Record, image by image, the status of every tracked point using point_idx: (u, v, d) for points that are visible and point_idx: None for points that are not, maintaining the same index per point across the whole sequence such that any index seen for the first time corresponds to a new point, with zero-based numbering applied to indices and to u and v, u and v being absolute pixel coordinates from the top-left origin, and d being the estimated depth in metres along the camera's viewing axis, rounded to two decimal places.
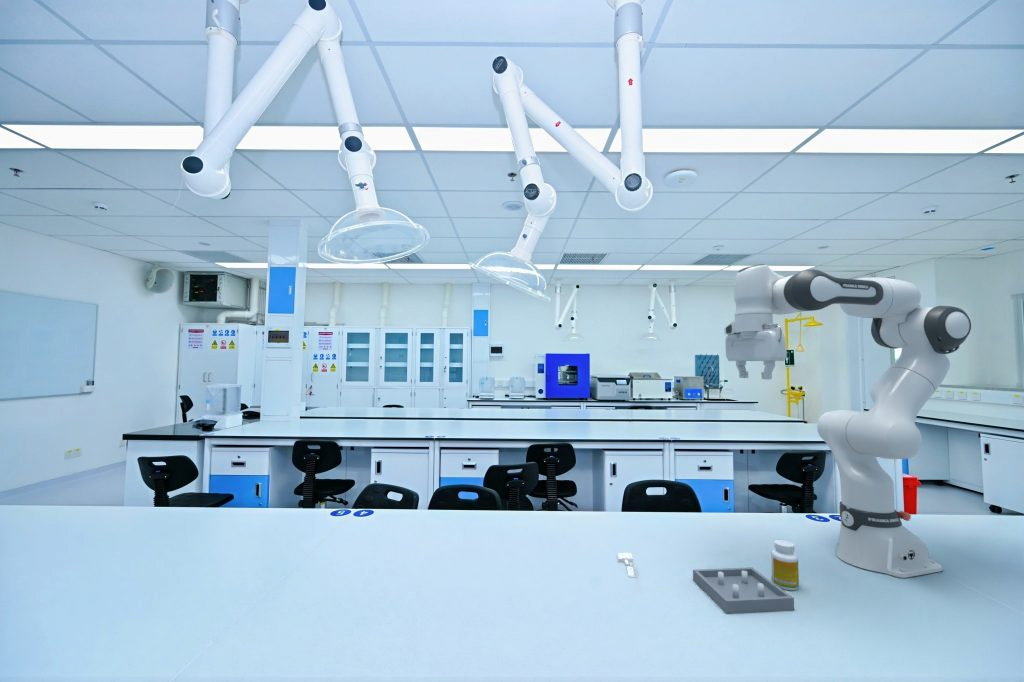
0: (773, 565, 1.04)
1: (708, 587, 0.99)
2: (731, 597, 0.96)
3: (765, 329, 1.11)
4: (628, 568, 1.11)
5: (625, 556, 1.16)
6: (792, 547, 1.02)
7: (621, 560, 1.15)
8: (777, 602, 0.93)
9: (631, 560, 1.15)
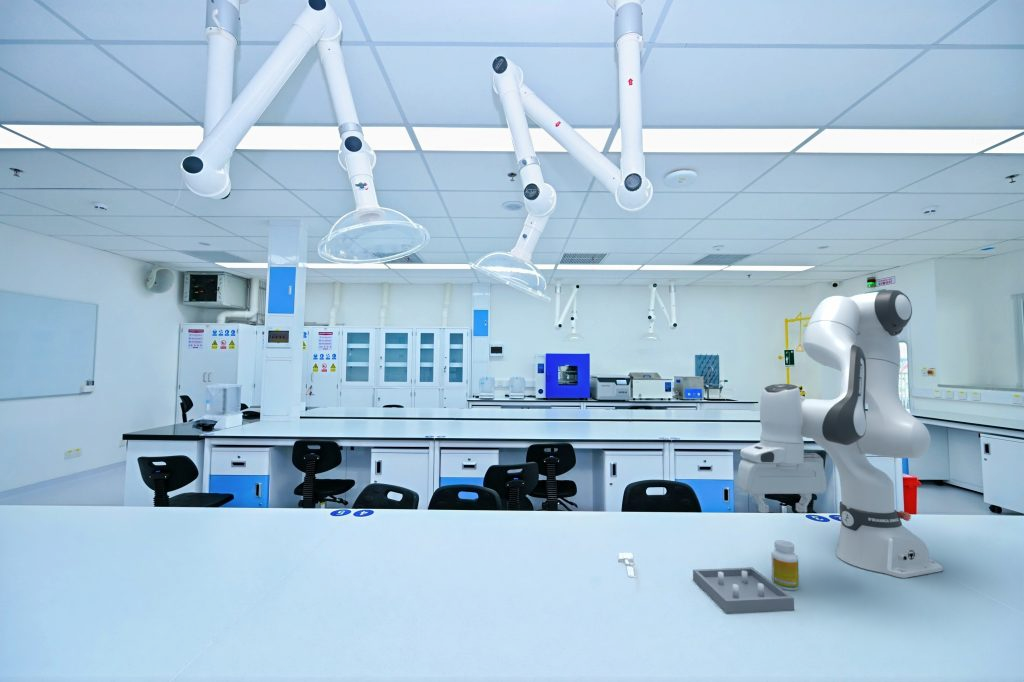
0: (773, 565, 1.04)
1: (708, 587, 0.99)
2: (731, 597, 0.96)
3: (803, 459, 1.05)
4: (628, 568, 1.11)
5: (625, 556, 1.16)
6: (792, 547, 1.02)
7: (621, 560, 1.15)
8: (777, 602, 0.93)
9: (631, 560, 1.15)
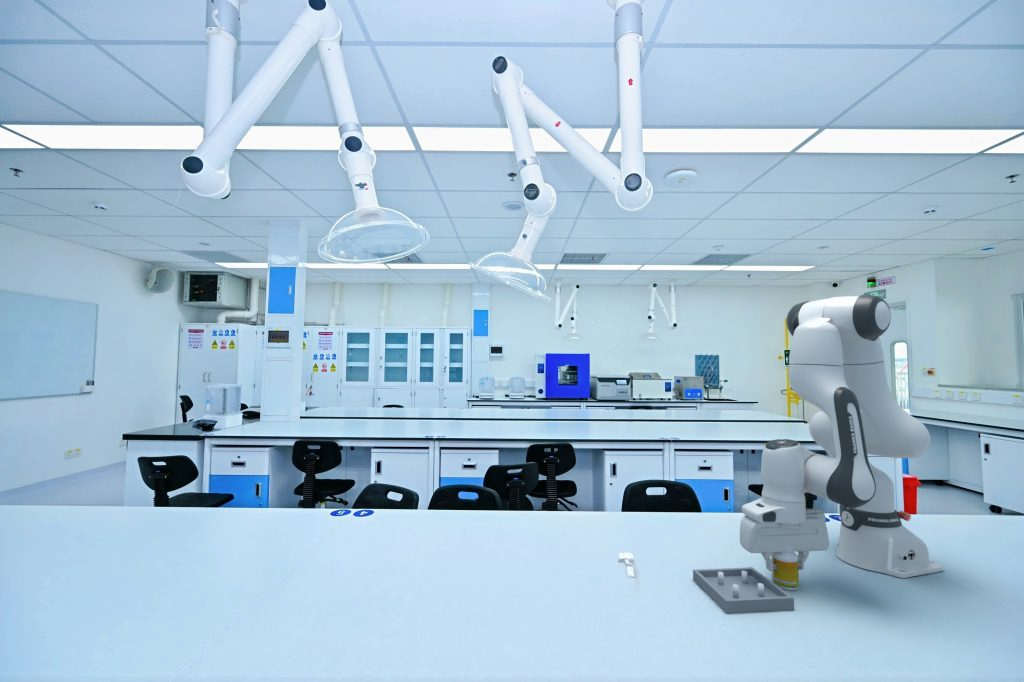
0: None
1: (708, 587, 0.99)
2: (731, 597, 0.96)
3: (805, 515, 1.04)
4: (628, 568, 1.11)
5: (626, 556, 1.16)
6: (792, 547, 1.02)
7: (622, 560, 1.15)
8: (777, 602, 0.93)
9: (632, 560, 1.15)
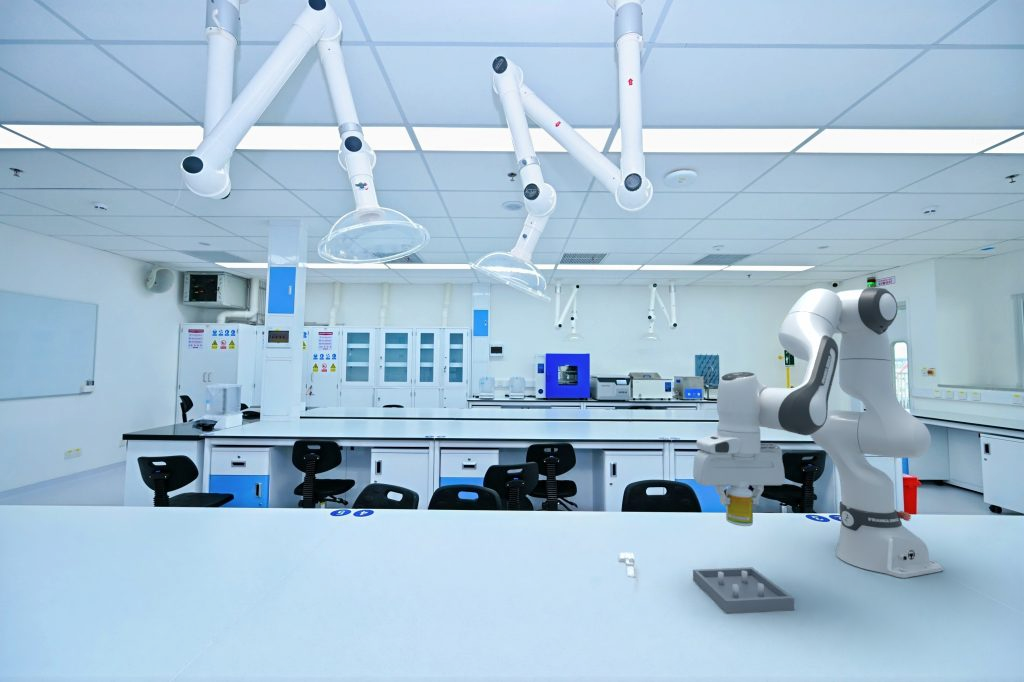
0: None
1: (708, 587, 0.99)
2: (731, 597, 0.96)
3: (761, 449, 1.01)
4: (628, 568, 1.11)
5: (626, 556, 1.16)
6: (746, 482, 0.99)
7: (622, 560, 1.15)
8: (777, 602, 0.93)
9: (632, 560, 1.15)
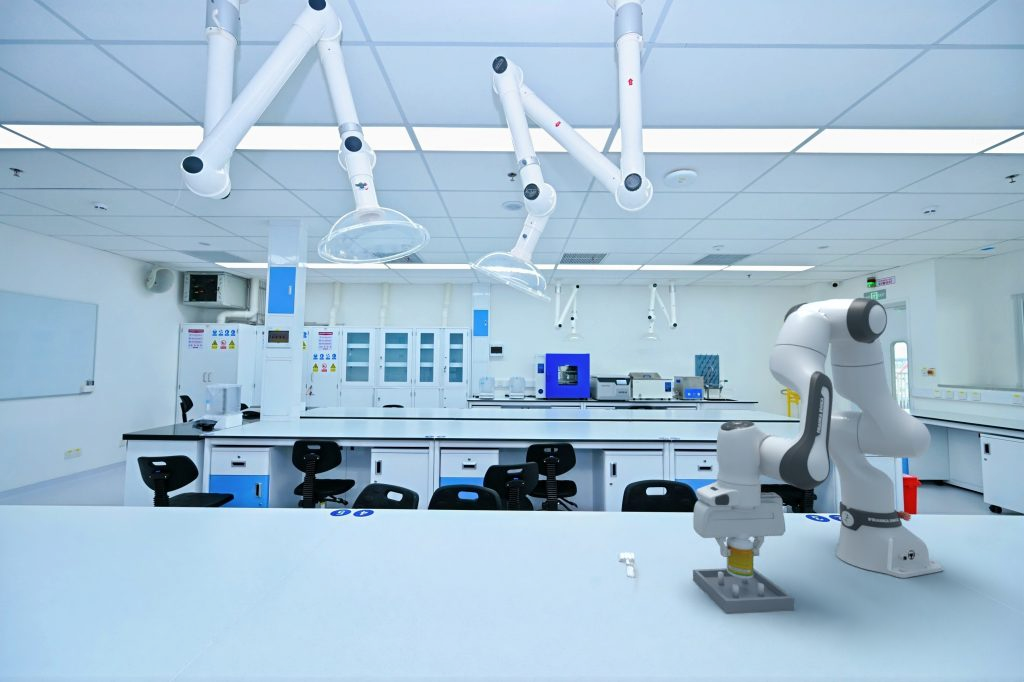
0: None
1: (708, 587, 0.99)
2: (731, 597, 0.96)
3: (761, 499, 1.00)
4: (628, 568, 1.11)
5: (627, 556, 1.16)
6: (747, 534, 0.98)
7: (622, 560, 1.15)
8: (777, 602, 0.93)
9: (632, 560, 1.15)
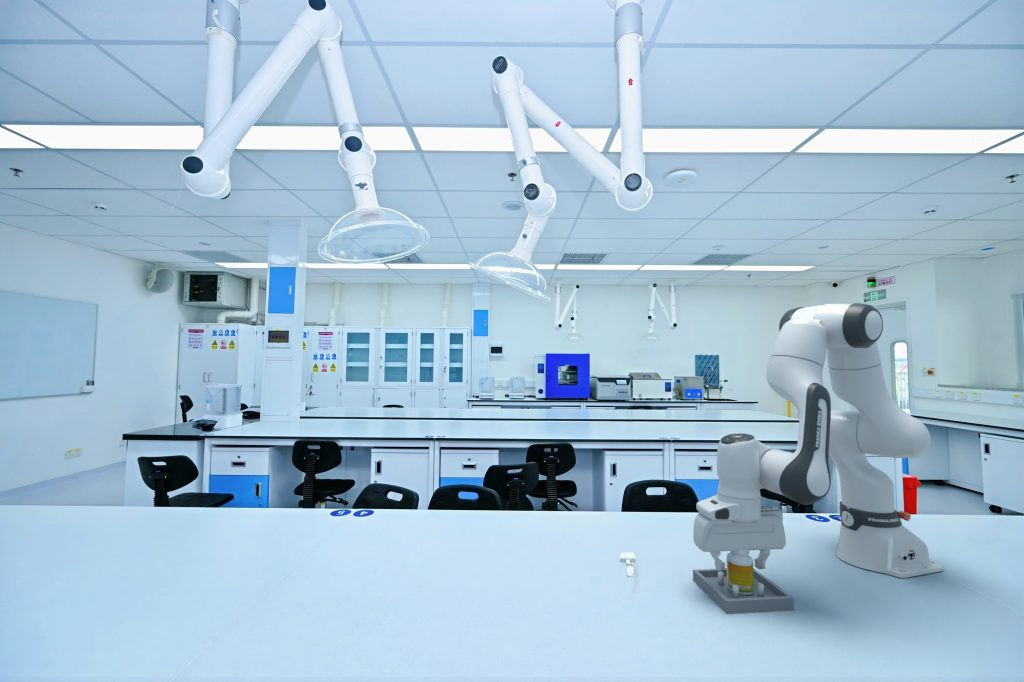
0: (728, 569, 1.00)
1: (708, 587, 0.99)
2: (731, 597, 0.96)
3: (761, 512, 1.00)
4: (628, 568, 1.11)
5: (627, 556, 1.16)
6: (747, 550, 0.98)
7: (623, 560, 1.15)
8: (777, 602, 0.93)
9: (633, 560, 1.15)
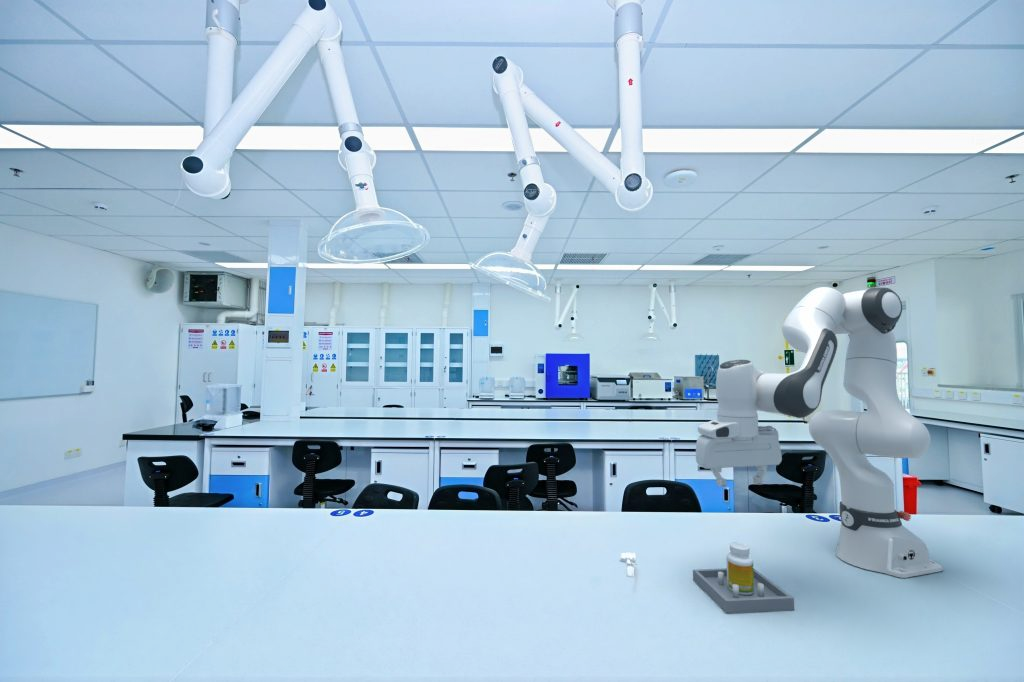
0: (728, 569, 1.00)
1: (708, 587, 0.99)
2: (731, 597, 0.96)
3: (759, 432, 1.07)
4: (628, 568, 1.11)
5: (628, 556, 1.16)
6: (747, 550, 0.98)
7: (623, 559, 1.15)
8: (777, 602, 0.93)
9: (633, 560, 1.15)
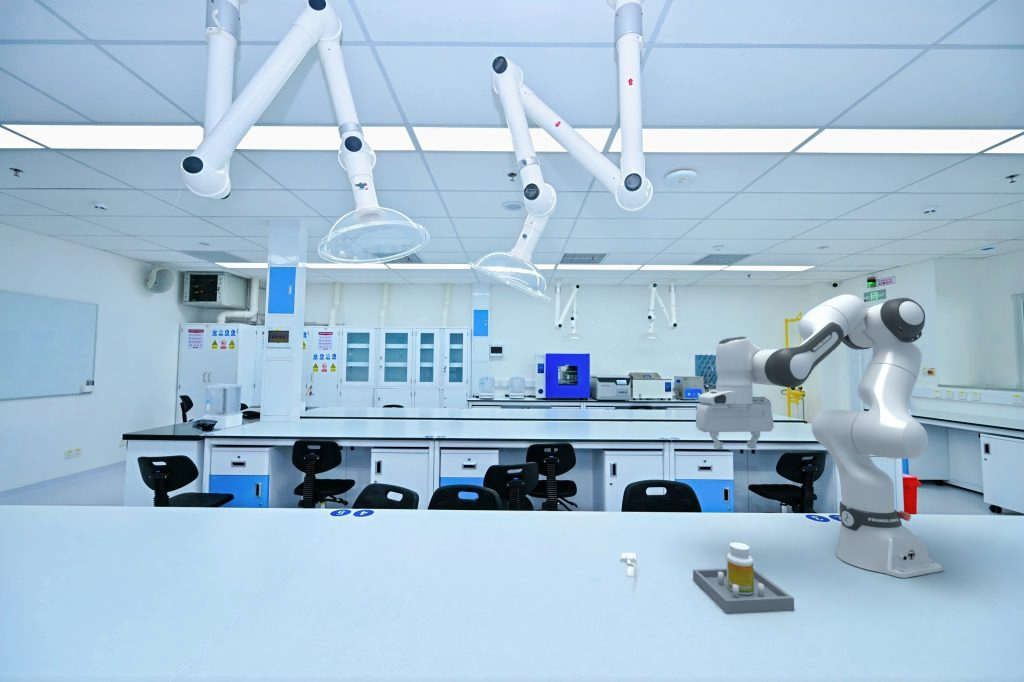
0: (728, 569, 1.00)
1: (708, 587, 0.99)
2: (731, 597, 0.96)
3: (753, 402, 1.19)
4: (629, 568, 1.11)
5: (628, 556, 1.16)
6: (747, 550, 0.98)
7: (624, 560, 1.15)
8: (777, 602, 0.93)
9: (634, 560, 1.15)
